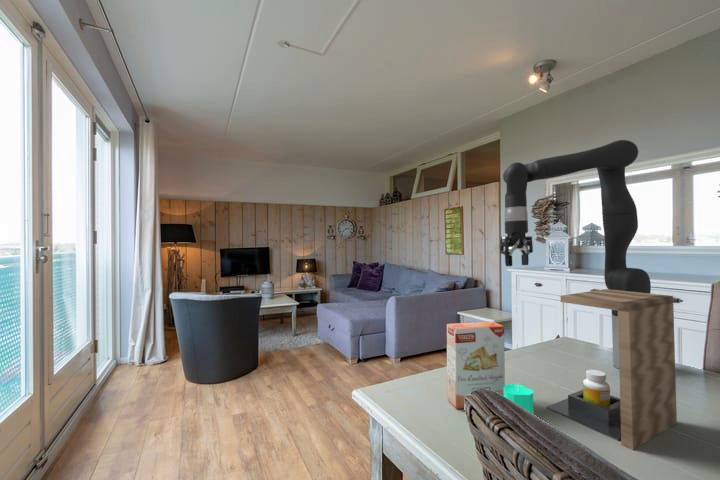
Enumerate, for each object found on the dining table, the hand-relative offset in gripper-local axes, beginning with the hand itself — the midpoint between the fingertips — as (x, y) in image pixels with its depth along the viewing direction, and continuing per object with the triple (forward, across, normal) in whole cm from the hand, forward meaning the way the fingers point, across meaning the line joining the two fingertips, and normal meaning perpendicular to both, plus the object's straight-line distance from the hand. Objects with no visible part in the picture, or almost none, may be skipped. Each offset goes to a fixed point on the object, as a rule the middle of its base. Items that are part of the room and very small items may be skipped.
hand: (517, 265), depth 118 cm
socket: (+34, -15, -33) cm, 50 cm away
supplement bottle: (+34, -15, -33) cm, 50 cm away
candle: (+34, -40, -30) cm, 61 cm away
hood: (+34, -14, -37) cm, 52 cm away
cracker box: (+34, -36, -14) cm, 52 cm away
